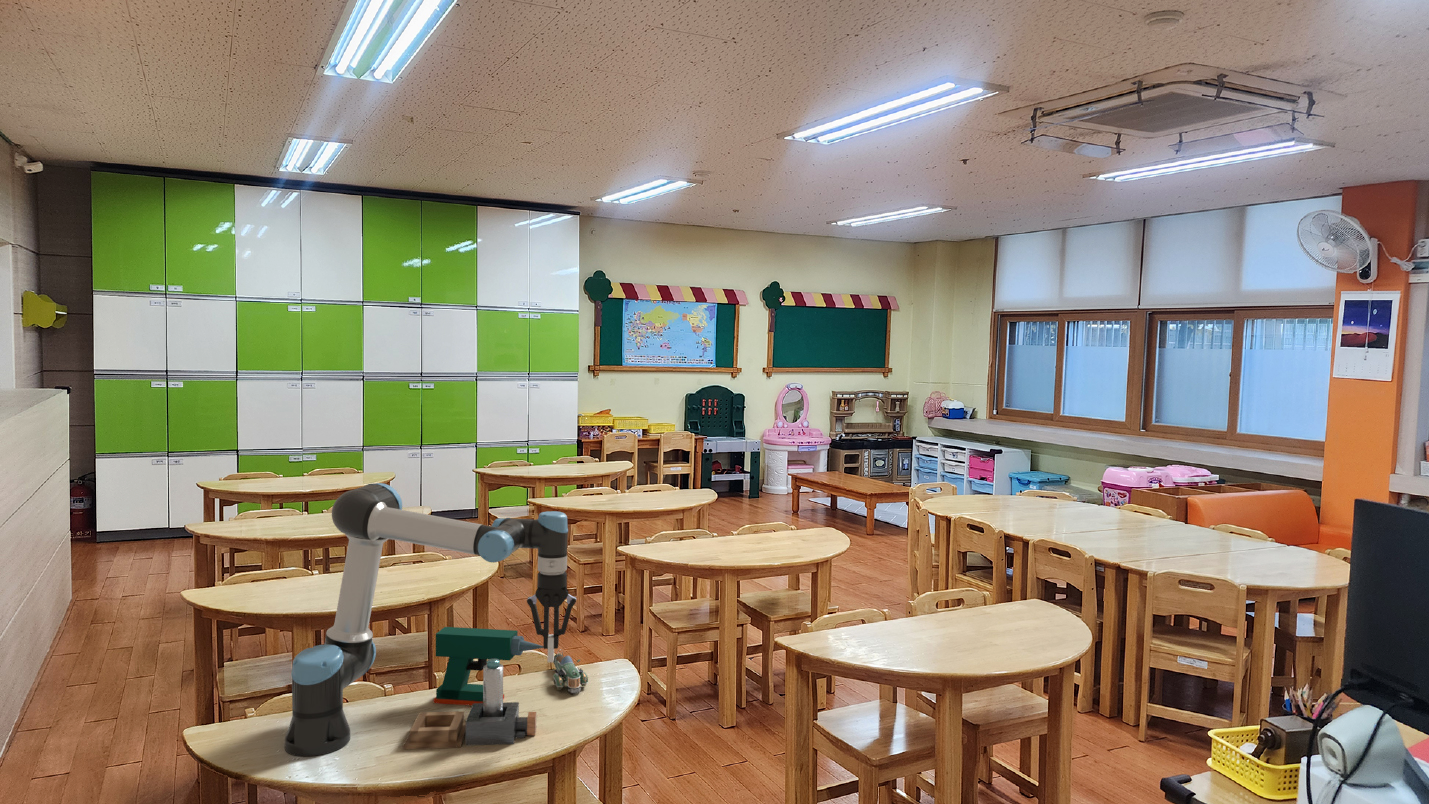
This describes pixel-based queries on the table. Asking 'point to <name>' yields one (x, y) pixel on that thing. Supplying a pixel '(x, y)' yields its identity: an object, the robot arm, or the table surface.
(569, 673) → the hoverbike
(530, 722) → the block
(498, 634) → the power tool
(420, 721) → the frame
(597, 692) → the table surface
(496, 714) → the peg
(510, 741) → the socket block
